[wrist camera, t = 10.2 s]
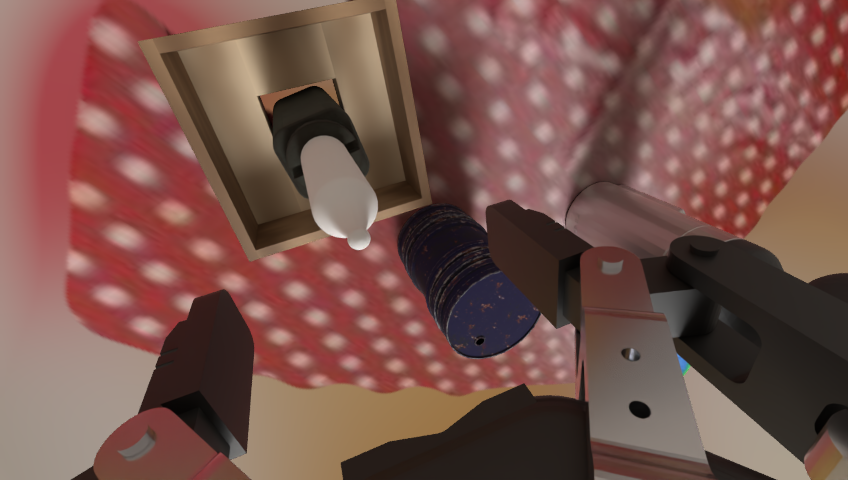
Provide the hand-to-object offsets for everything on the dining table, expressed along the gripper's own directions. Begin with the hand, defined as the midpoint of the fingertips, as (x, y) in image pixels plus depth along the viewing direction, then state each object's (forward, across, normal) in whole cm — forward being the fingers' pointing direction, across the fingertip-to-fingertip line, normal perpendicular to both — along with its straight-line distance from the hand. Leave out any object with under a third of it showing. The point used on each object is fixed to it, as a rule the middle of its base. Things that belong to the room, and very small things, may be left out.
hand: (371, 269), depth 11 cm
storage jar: (+28, -10, +17) cm, 34 cm away
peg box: (+27, 0, 0) cm, 27 cm away
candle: (+28, 0, +1) cm, 28 cm away
